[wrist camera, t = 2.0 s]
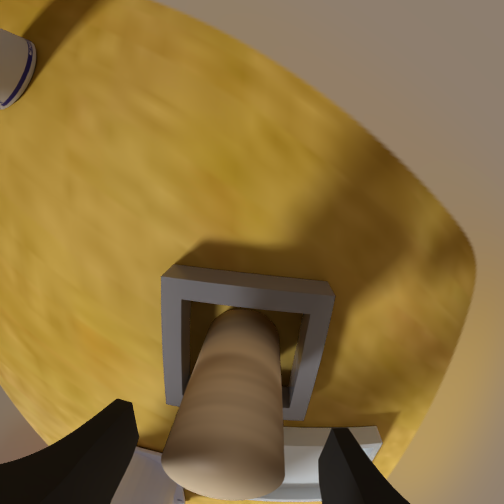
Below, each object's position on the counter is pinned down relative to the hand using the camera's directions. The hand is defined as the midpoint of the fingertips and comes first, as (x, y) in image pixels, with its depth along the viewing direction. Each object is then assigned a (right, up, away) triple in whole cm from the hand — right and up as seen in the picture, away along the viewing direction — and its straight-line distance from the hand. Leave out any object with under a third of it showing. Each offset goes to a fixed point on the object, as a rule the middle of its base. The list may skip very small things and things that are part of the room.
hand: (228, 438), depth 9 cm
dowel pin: (0, +2, +7) cm, 7 cm away
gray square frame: (0, +2, +7) cm, 7 cm away
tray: (+5, -10, +10) cm, 15 cm away
